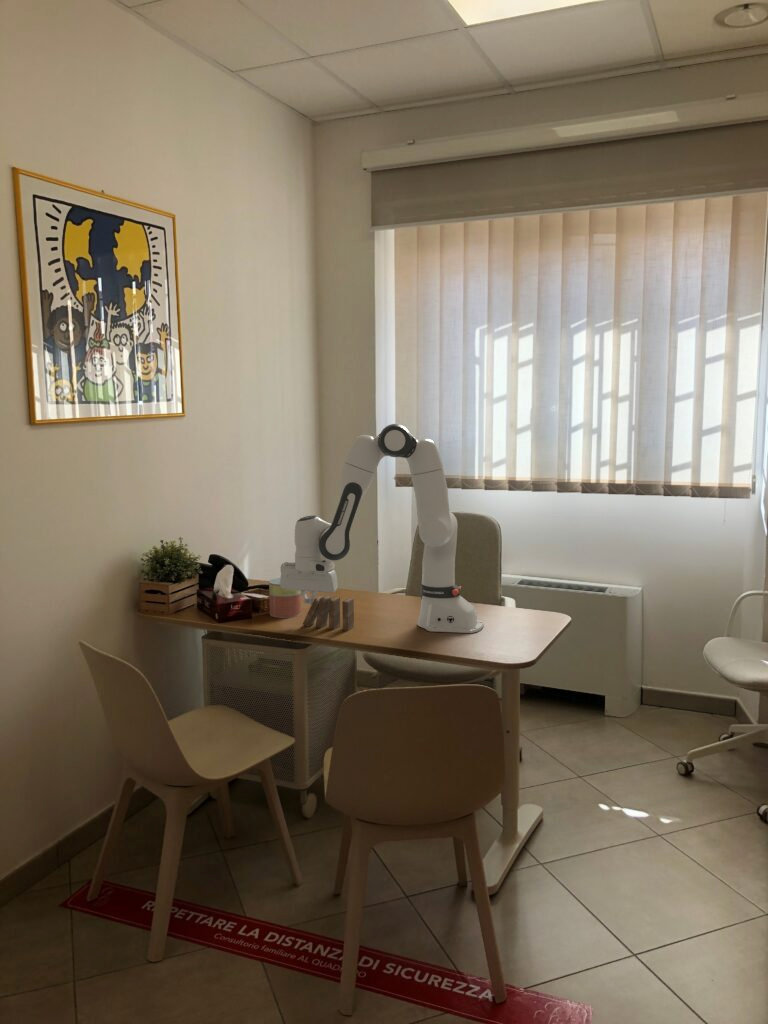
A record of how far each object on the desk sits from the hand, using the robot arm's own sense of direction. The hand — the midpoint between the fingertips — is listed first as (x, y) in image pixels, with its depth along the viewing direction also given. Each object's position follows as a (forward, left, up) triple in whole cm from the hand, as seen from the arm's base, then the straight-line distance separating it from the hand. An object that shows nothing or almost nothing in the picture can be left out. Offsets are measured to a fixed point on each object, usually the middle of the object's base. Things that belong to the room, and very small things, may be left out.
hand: (308, 603), depth 293 cm
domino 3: (-9, 0, -8) cm, 12 cm away
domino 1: (0, 0, -7) cm, 7 cm away
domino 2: (-4, 0, -7) cm, 9 cm away
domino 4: (-14, 0, -8) cm, 16 cm away
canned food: (+15, -11, -8) cm, 20 cm away
